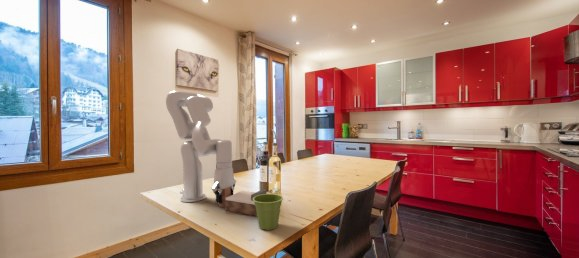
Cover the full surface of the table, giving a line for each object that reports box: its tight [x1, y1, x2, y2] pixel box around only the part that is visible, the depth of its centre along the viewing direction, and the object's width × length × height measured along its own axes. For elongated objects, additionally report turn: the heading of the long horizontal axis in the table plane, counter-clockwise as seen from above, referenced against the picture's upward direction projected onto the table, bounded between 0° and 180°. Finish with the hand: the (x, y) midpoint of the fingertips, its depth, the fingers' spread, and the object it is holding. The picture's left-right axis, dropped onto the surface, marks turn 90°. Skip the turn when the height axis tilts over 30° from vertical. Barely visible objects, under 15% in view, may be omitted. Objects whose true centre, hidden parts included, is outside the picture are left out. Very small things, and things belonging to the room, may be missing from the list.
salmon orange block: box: [218, 187, 231, 208], centre depth 118 cm, size 4×4×10 cm
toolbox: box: [225, 200, 258, 218], centre depth 112 cm, size 18×13×5 cm
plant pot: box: [253, 193, 284, 231], centre depth 93 cm, size 12×12×11 cm
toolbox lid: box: [226, 188, 268, 205], centre depth 112 cm, size 18×13×4 cm
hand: (225, 200), depth 118 cm, fingers open, 7 cm apart
